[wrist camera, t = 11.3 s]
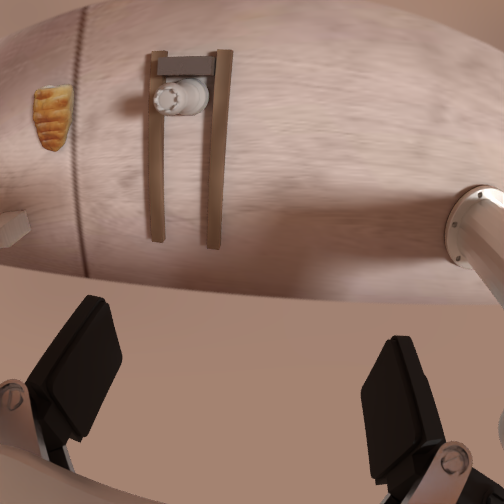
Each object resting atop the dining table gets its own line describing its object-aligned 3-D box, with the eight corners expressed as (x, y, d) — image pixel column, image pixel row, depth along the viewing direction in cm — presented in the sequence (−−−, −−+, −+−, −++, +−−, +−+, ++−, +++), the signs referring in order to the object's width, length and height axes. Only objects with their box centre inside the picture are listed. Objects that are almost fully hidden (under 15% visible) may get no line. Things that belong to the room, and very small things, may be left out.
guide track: (233, 51, 29) (231, 49, 28) (220, 245, 41) (218, 249, 40) (155, 52, 29) (151, 51, 28) (155, 237, 41) (151, 241, 40)
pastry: (77, 148, 36) (60, 155, 32) (43, 149, 36) (26, 155, 33) (77, 81, 31) (59, 82, 28) (42, 86, 31) (24, 89, 28)
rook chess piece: (185, 122, 33) (160, 132, 26) (165, 93, 32) (134, 96, 25) (217, 101, 32) (199, 104, 25) (196, 70, 30) (172, 66, 23)
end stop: (217, 59, 29) (212, 56, 27) (216, 75, 30) (210, 74, 28) (168, 59, 29) (158, 57, 27) (166, 75, 30) (157, 75, 28)
